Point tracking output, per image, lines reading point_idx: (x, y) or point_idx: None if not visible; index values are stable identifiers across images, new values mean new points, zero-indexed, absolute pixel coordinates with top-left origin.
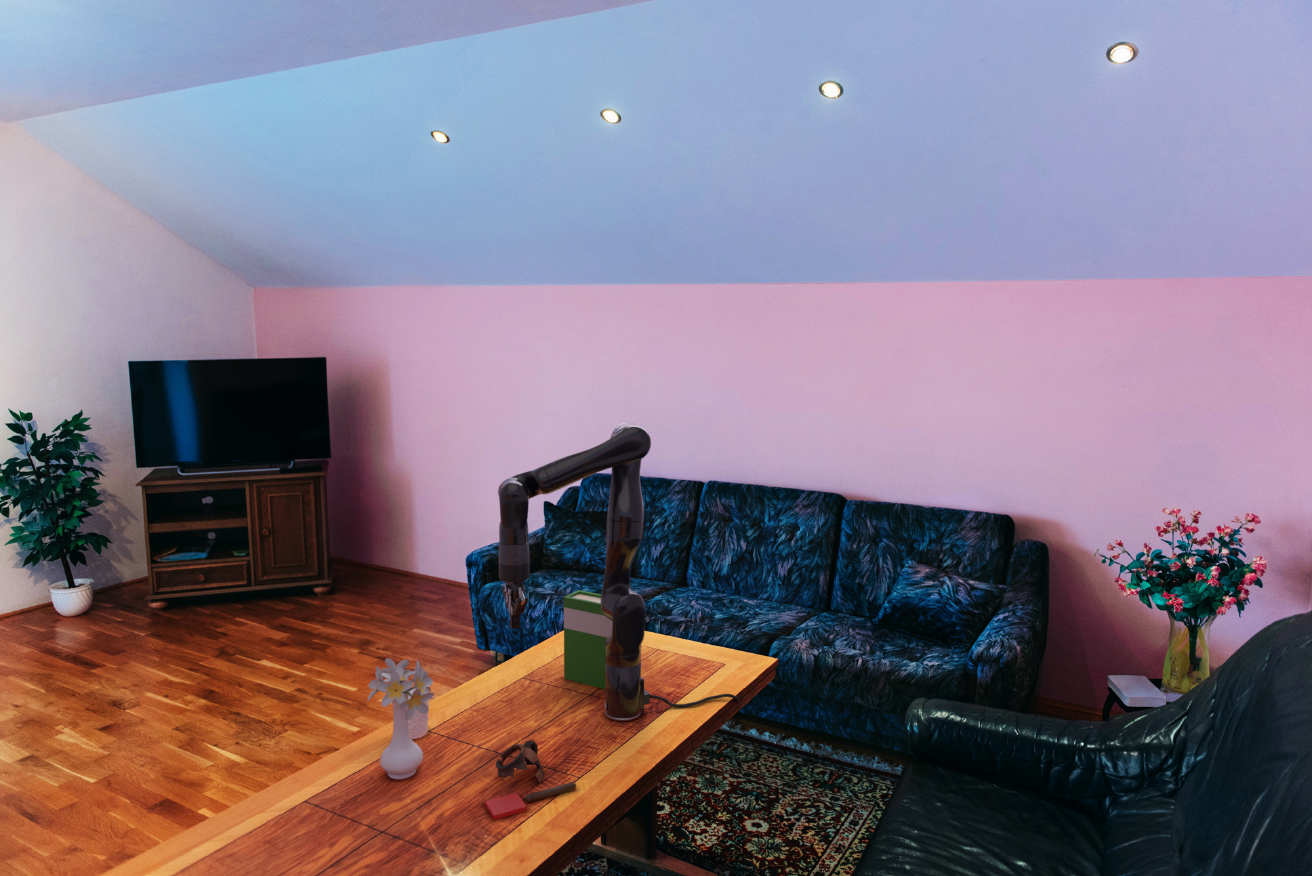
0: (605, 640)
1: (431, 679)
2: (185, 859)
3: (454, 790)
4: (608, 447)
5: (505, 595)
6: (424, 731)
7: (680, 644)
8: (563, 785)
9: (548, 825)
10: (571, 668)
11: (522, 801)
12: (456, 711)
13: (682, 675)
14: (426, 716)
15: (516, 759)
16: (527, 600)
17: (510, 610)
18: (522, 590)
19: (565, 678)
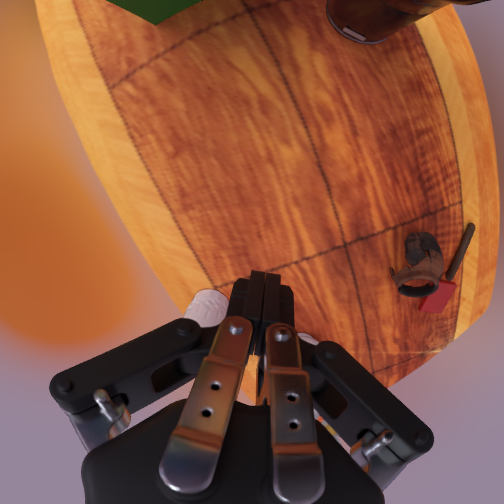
0: None
1: (322, 422)
2: None
3: (373, 319)
4: None
5: (143, 407)
6: (226, 301)
7: None
8: (469, 240)
9: (479, 277)
10: (160, 9)
11: (449, 284)
12: (173, 234)
13: None
14: (222, 313)
15: (436, 290)
16: (428, 433)
17: (244, 368)
18: (381, 500)
19: (157, 23)
